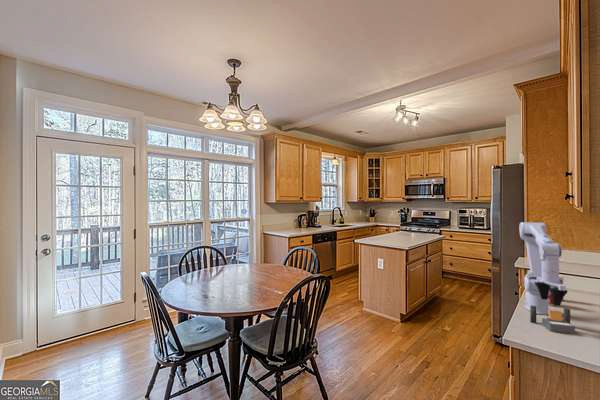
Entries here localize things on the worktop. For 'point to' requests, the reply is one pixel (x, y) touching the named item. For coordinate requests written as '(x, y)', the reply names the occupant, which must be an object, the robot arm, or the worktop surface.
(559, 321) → the breaker box
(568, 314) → the cylinder
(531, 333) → the worktop surface
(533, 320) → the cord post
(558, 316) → the breaker paddle
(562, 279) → the sprinkles bottle
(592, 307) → the worktop surface
